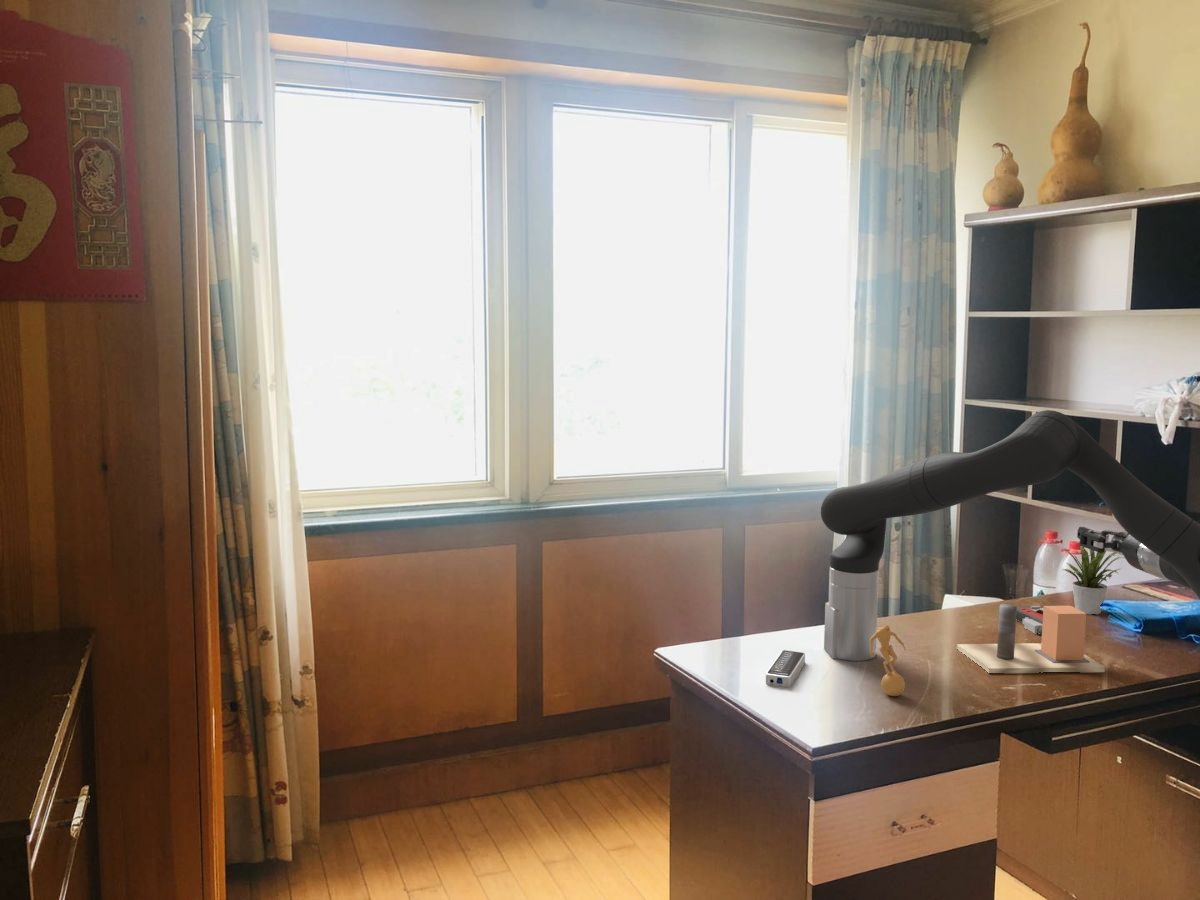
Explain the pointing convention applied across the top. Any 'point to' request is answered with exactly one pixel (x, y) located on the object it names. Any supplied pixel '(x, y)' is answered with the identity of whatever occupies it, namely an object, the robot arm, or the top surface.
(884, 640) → the figurine
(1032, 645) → the post stand
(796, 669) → the multiport hub
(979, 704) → the top surface
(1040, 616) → the walkie-talkie
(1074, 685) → the top surface
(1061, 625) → the tall salmon pillar
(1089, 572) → the house plant
